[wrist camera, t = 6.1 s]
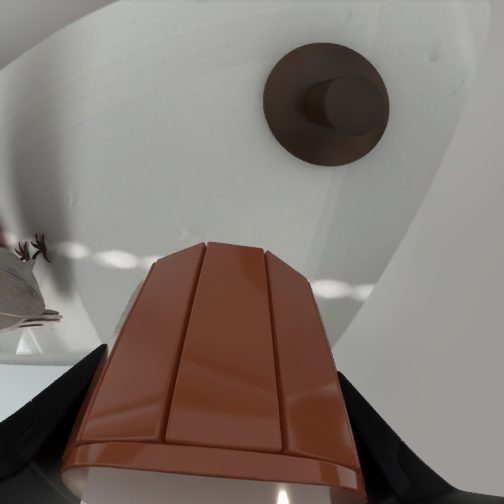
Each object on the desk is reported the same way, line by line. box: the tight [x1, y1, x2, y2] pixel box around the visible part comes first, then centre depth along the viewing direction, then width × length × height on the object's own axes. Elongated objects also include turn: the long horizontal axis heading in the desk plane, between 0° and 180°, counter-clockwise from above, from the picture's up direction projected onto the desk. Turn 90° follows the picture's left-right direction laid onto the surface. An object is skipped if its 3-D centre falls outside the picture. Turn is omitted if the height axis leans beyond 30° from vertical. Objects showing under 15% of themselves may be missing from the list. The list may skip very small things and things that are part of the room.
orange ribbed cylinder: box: [60, 242, 368, 504], centre depth 8 cm, size 7×7×7 cm
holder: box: [263, 43, 389, 166], centre depth 15 cm, size 8×8×6 cm
